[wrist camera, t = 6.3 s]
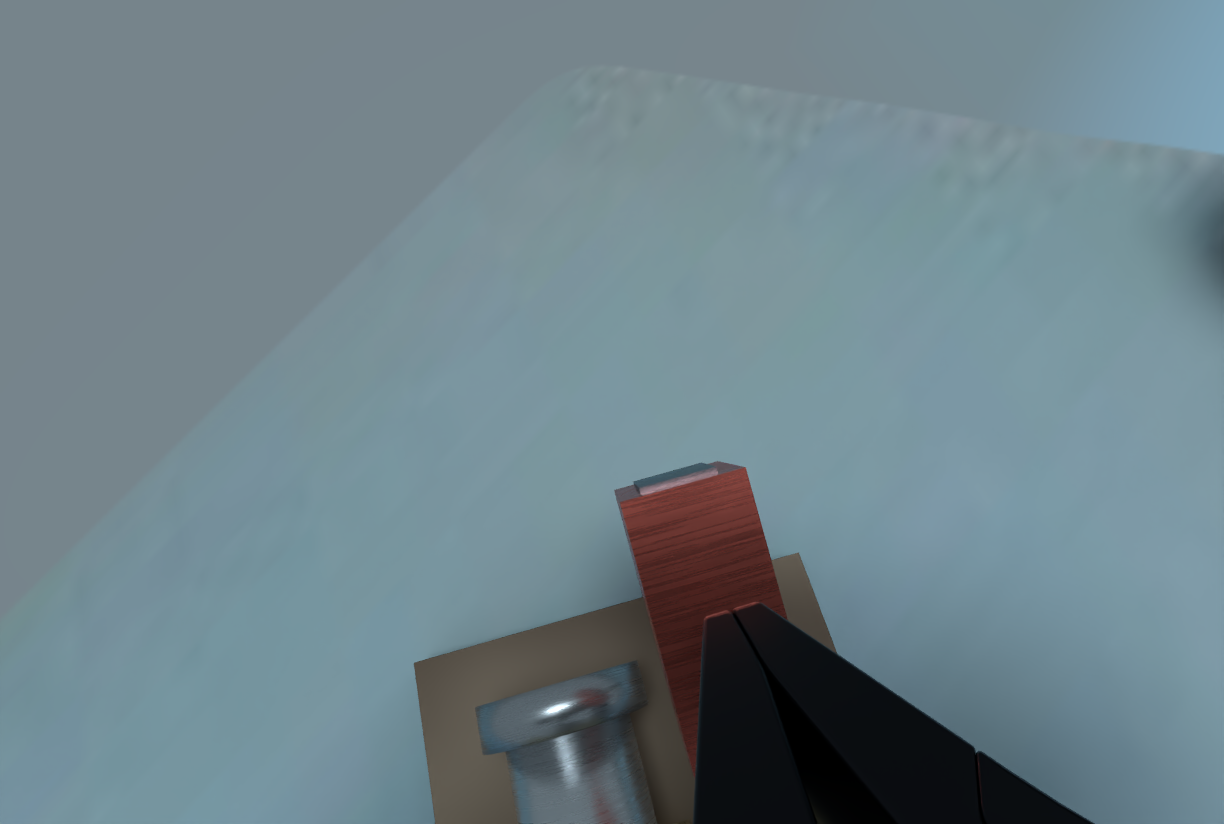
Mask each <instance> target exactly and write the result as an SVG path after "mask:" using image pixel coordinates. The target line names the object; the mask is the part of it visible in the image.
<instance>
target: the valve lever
mask: <svg viewBox="0 0 1224 824" xmlns="http://www.w3.org/2000/svg"><path fill="white" fill-rule="evenodd" d="M614 492H615V495H616V499H617V503H618V506H619V510H620V514H621V517H622V521H623V525H624V528H625V532H626V536H627V539H628V543H629V547H630V550H631V554H632V558H633V561H634V565H635V569H636V572H637V576H638V580H639V583H640V587H641V591H642V594H643V598H644V602H645V606H646V609H647V613H648V617H649V620H650V624H651V628H652V631H653V635H654V639H655V642H656V646H657V650H658V653H659V657H660V661H661V664H662V668H663V672H664V675H665V679H666V683H667V686H668V690H669V694H670V697H671V701H672V705H673V709H674V712H675V716H676V720H677V723H678V727H679V731H680V734H681V737H682V740H683V744H684V747H685V750H686V753H687V757H688V760H689V763H690V766H691V770H692V773H693V776H694V779H695V770H696V750H697V731H698V712H699V692H700V673H701V654H702V634H703V620H704V618H705V617H706V616H708V615H711V614H714V613H718V612H721V611H725V610H729V611H731V612H732V611H733V609H734V608H736V607H739V606H742V605H745V604H749V603H752V602H761V603H763V604H764V605H766V606H767V607H769V608H770V609H771V610H773V611H774V612H776V613H777V614H779V615H780V616H782V617H783V618H785V619H786V620H788V619H787V615H786V612H785V608H784V604H783V601H782V597H781V594H780V590H779V586H778V583H777V579H776V576H775V572H774V568H773V565H772V561H771V558H770V554H769V550H768V547H767V543H766V540H765V536H764V532H763V529H762V525H761V521H760V518H759V514H758V511H757V507H756V503H755V500H754V496H753V493H752V489H751V485H750V482H749V478H748V475H747V471H746V467H742V466H737V465H733V464H728V463H723V462H719V461H717V462H714V463H710V464H704V463H699V464H695V465H691V466H688V467H684V468H681V469H677V470H673V471H670V472H666V473H663V474H659V475H655V476H652V477H648V478H645V479H641V480H637V481H634V485H631V486H627V487H624V488H620V489H616V490H614Z"/></svg>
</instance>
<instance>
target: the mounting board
mask: <svg viewBox="0 0 1224 824" xmlns="http://www.w3.org/2000/svg"><path fill="white" fill-rule="evenodd" d="M771 561H772V565H773V568H774V572H775V576H776V579H777V583H778V586H779V590H780V594H781V597H782V601H783V604H784V608H785V612H786V615H787V619H788V621H789V622H791V623H792V624H794V625H795V626H797V627H798V628H800V629H801V630H803V631H804V632H805V633H807V634H808V635H810V636H811V637H813V638H814V639H816V640H817V641H819V642H820V643H822V644H823V645H825V646H826V647H828V648H829V649H831V650H832V651H834V652H835V653H836V654H837V652H836V649H835V647H834V644H833V641H832V639H831V636H830V634H829V631H828V628H827V626H826V623H825V620H824V618H823V615H822V613H821V610H820V607H819V605H818V602H817V599H816V597H815V594H814V592H813V589H812V586H811V584H810V581H809V578H808V576H807V573H806V571H805V568H804V565H803V563H802V560H801V557H800V555H799V553H795V554H792V555H788V556H785V557H781V558H778V559H774V560H771ZM635 660H637V661H638V665H639V669H640V672H641V676H642V680H643V684H644V688H645V691H646V695H647V699H648V703H649V704H648V705H647V706H645V707H643V708H641V709H639V710H637V711H634V712H632V713H630V717H631V721H632V725H633V729H634V733H635V737H636V741H637V745H638V749H639V753H640V757H641V761H642V765H643V769H644V773H645V777H646V781H647V785H648V789H649V793H650V797H651V801H652V805H653V809H654V813H655V817H656V821H657V824H675V823H678V822H681V821H685V820H688V819H689V821H690V824H693V808H694V789H695V779H694V776H693V773H692V770H691V766H690V763H689V760H688V757H687V753H686V750H685V747H684V744H683V740H682V737H681V734H680V731H679V727H678V723H677V720H676V716H675V712H674V709H673V705H672V701H671V697H670V694H669V690H668V686H667V683H666V679H665V675H664V672H663V668H662V664H661V661H660V657H659V653H658V650H657V646H656V642H655V639H654V635H653V631H652V628H651V624H650V620H649V617H648V613H647V609H646V606H645V602H644V598H643V597H642V598H638V599H635V600H632V601H628V602H625V603H621V604H618V605H614V606H611V607H607V608H604V609H600V610H597V611H593V612H590V613H586V614H583V615H579V616H576V617H572V618H569V619H565V620H562V621H558V622H555V623H551V624H548V625H544V626H541V627H537V628H534V629H530V630H527V631H523V632H520V633H516V634H513V635H509V636H506V637H502V638H499V639H496V640H492V641H489V642H485V643H482V644H478V645H475V646H471V647H468V648H464V649H461V650H457V651H454V652H450V653H447V654H443V655H440V656H436V657H433V658H429V659H426V660H422V661H419V662H415V663H414V668H415V675H416V683H417V690H418V697H419V705H420V712H421V720H422V727H423V735H424V742H425V749H426V757H427V764H428V772H429V779H430V787H431V794H432V801H433V809H434V816H435V824H518V821H517V815H516V810H515V804H514V798H513V793H512V787H511V781H510V776H509V770H508V765H507V759H506V753H505V752H501V753H496V754H490V755H483V754H482V748H481V742H480V736H479V730H478V724H477V718H476V712H475V707H477V706H481V705H484V704H487V703H491V702H494V701H498V700H501V699H504V698H508V697H511V696H515V695H518V694H521V693H525V692H528V691H532V690H535V689H539V688H542V687H545V686H549V685H552V684H556V683H559V682H563V681H566V680H569V679H573V678H576V677H580V676H583V675H587V674H590V673H593V672H597V671H600V670H604V669H607V668H611V667H614V666H618V665H621V664H624V663H628V662H631V661H635Z"/></svg>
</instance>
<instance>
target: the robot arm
mask: <svg viewBox="0 0 1224 824" xmlns="http://www.w3.org/2000/svg"><path fill="white" fill-rule="evenodd" d="M693 824H1094V823H1093V822H1091V821H1089V820H1088V819H1086V818H1084V817H1082V816H1081V815H1079V814H1077V813H1076V812H1074V811H1072V810H1071V809H1069V808H1067V807H1066V806H1064V805H1062V804H1061V803H1059V802H1058V801H1056V800H1054V799H1053V798H1051V797H1050V796H1048V795H1047V794H1045V793H1044V792H1042V791H1040V790H1039V789H1037V788H1036V787H1034V786H1033V785H1031V784H1030V783H1028V782H1027V781H1025V780H1023V779H1022V778H1020V777H1019V776H1017V775H1016V774H1014V773H1013V772H1011V771H1010V770H1008V769H1007V768H1005V767H1004V766H1002V765H1001V764H999V763H998V762H996V761H995V760H993V759H992V758H990V757H989V756H987V755H986V754H985V753H983V752H981V751H978V752H977V753H976V752H975V748H974V746H972V745H971V744H969V743H968V742H966V741H965V740H963V739H962V738H961V737H959V736H958V735H956V734H955V733H953V732H952V731H950V730H949V729H947V728H946V727H944V726H943V725H941V724H940V723H938V722H937V721H935V720H934V719H932V718H931V717H930V716H928V715H927V714H925V713H924V712H922V711H921V710H919V709H918V708H916V707H915V706H913V705H912V704H910V703H909V702H907V701H906V700H904V699H903V698H901V697H900V696H899V695H897V694H896V693H894V692H893V691H891V690H890V689H888V688H887V687H885V686H884V685H882V684H881V683H879V682H878V681H876V680H875V679H873V678H872V677H870V676H869V675H867V674H866V673H865V672H863V671H862V670H860V669H859V668H857V667H856V666H854V665H853V664H851V663H850V662H848V661H847V660H845V659H844V658H842V657H841V656H839V655H838V654H836V653H835V652H834V651H832V650H831V649H829V648H828V647H826V646H825V645H823V644H822V643H820V642H819V641H817V640H816V639H814V638H813V637H811V636H810V635H808V634H807V633H805V632H804V631H803V630H801V629H800V628H798V627H797V626H795V625H794V624H792V623H791V622H789V621H788V620H786V619H785V618H783V617H782V616H780V615H779V614H777V613H776V612H774V611H773V610H771V609H770V608H769V607H767V606H766V605H764V604H763V603H761V602H752V603H749V604H745V605H742V606H739V607H736V608H734V609H733V611H732V612H731V611H729V610H725V611H721V612H718V613H714V614H711V615H708V616H706V617H705V618H704V620H703V634H702V654H701V673H700V692H699V712H698V731H697V750H696V770H695V789H694V808H693Z"/></svg>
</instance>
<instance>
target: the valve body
mask: <svg viewBox="0 0 1224 824" xmlns="http://www.w3.org/2000/svg"><path fill="white" fill-rule="evenodd" d="M648 704H649V703H648V699H647V695H646V691H645V688H644V684H643V680H642V676H641V672H640V669H639V665H638V661H637V660H635V661H631V662H628V663H624V664H621V665H618V666H614V667H611V668H607V669H604V670H600V671H597V672H593V673H590V674H587V675H583V676H580V677H576V678H573V679H569V680H566V681H563V682H559V683H556V684H552V685H549V686H545V687H542V688H539V689H535V690H532V691H528V692H525V693H521V694H518V695H515V696H511V697H508V698H504V699H501V700H498V701H494V702H491V703H487V704H484V705H481V706H477V707H475V712H476V718H477V724H478V730H479V736H480V742H481V748H482V754H483V755H490V754H496V753H501V752H505V753H506V759H507V765H508V770H509V776H510V781H511V787H512V793H513V798H514V804H515V810H516V815H517V821H518V824H657V821H656V817H655V813H654V809H653V805H652V801H651V797H650V793H649V789H648V785H647V781H646V777H645V773H644V769H643V765H642V761H641V757H640V753H639V749H638V745H637V741H636V737H635V733H634V729H633V725H632V721H631V717H630V713H632V712H634V711H637V710H639V709H641V708H643V707H645V706H647V705H648ZM675 824H690V821H689V819H688V820H685V821H681V822H678V823H675Z"/></svg>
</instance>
